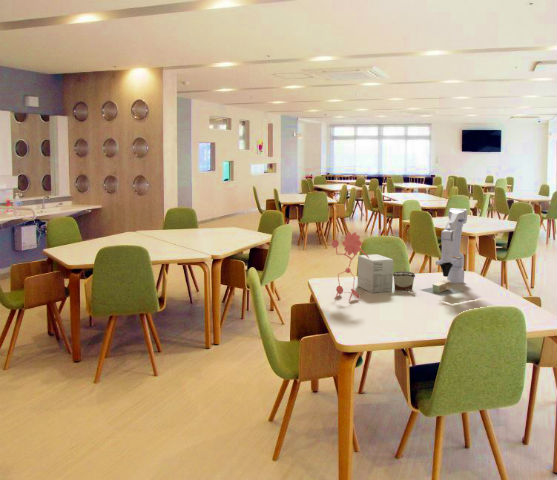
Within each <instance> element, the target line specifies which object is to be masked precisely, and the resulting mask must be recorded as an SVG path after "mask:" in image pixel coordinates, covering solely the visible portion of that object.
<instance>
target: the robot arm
mask: <svg viewBox="0 0 557 480" xmlns="http://www.w3.org/2000/svg"><path fill="white" fill-rule="evenodd" d="M447 213H448V214H447V216H448V220H449V221H448V222H447V223H446V225H445V227H444V229H443V230H441V233H440V234H441V235H440V240H441V242H440V243H441V254H440V255H441V257H440V259H438V260H436V261H435V265H436V266H440V268H441V271H442V275H443V277H447V279H446V280H448V281H451V284H460V283H462V284H465V270H464V266H465V256H464V254H463V253H462V252H461V243H462V235H463V234H462V233H463V227H464V224H466V223H467V221H468V214H469V213H468V209H467V208H454V207H450V208H449V209H448V212H447Z"/></svg>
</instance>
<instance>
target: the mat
mask: <svg viewBox="0 0 557 480" xmlns="http://www.w3.org/2000/svg"><path fill="white" fill-rule="evenodd" d="M420 291H422V292H425V293H429V294H432V295H436V296H440V297H445V296H446V297H447V296H452V295H456V294H462V293H465V291H463V290H459V289H455V288H452V287H451V288H450V289H447V290H445V291H442V292H439V293H437V292H434V291H433V286H432V287H429V288H428V287H427V288H423V289H420Z"/></svg>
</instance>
